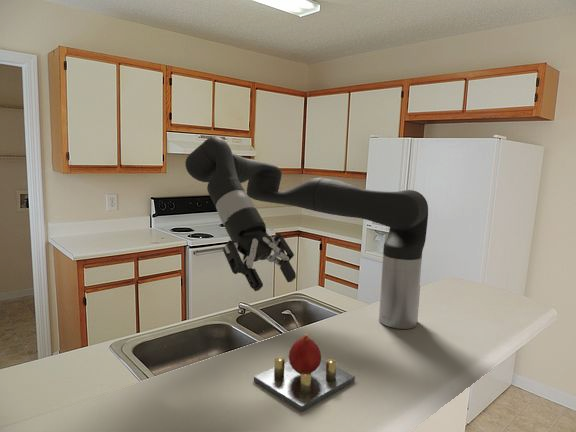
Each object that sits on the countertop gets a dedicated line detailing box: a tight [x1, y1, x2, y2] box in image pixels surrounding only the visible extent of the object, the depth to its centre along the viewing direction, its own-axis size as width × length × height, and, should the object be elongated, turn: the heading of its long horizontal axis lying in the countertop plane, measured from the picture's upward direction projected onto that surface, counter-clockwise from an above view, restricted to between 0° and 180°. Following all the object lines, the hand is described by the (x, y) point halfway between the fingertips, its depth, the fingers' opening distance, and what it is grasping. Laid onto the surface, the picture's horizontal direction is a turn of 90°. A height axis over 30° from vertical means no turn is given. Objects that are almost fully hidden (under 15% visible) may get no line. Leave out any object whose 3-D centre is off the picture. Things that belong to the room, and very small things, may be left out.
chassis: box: [253, 356, 356, 413], centre depth 75 cm, size 14×12×4 cm
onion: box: [288, 334, 322, 375], centre depth 75 cm, size 6×6×8 cm
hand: (276, 284), depth 79 cm, fingers open, 8 cm apart
